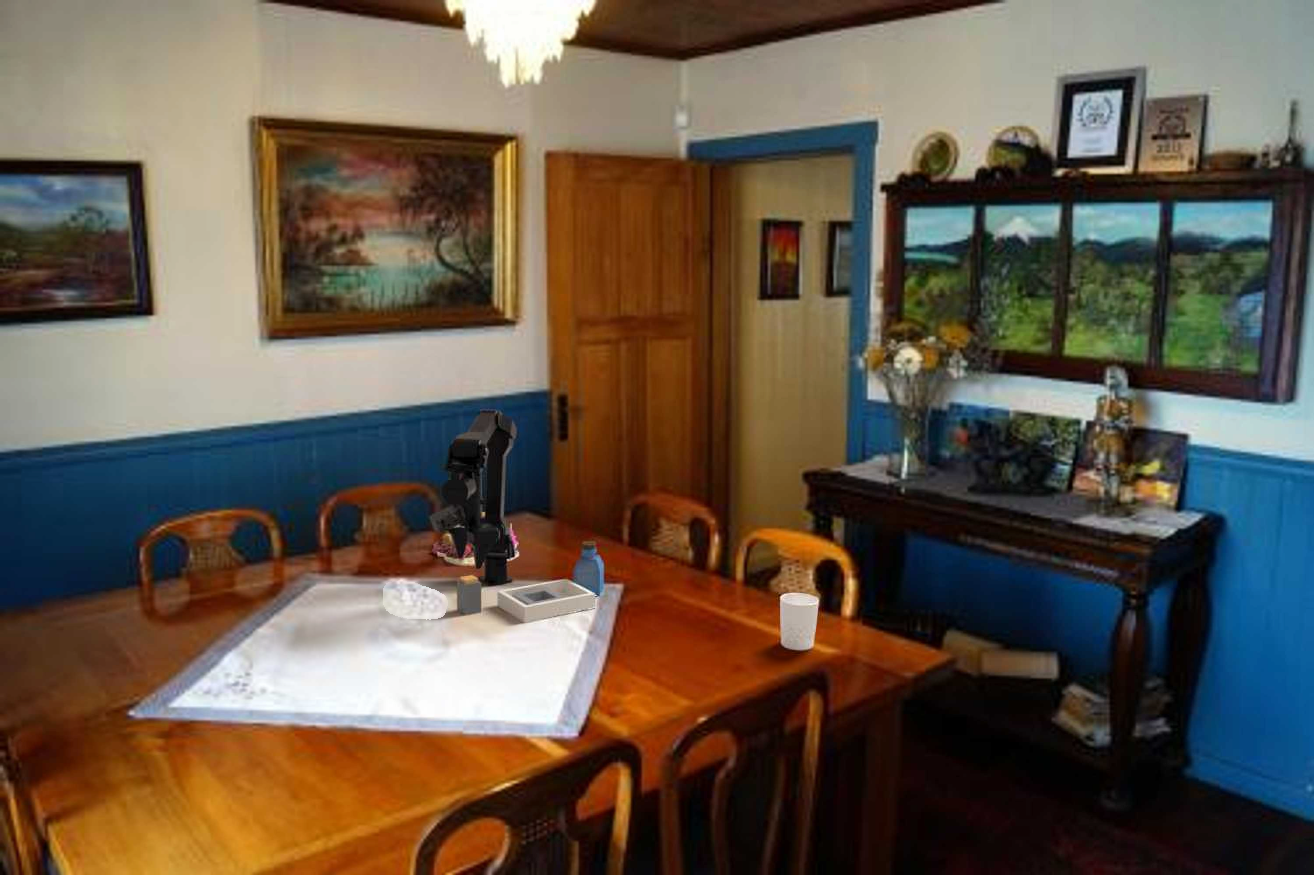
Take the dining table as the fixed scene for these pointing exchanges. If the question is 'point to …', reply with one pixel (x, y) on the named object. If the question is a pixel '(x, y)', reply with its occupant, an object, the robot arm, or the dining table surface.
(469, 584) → the plug
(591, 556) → the perfume bottle
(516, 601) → the box
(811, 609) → the white cup
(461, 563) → the food platter
